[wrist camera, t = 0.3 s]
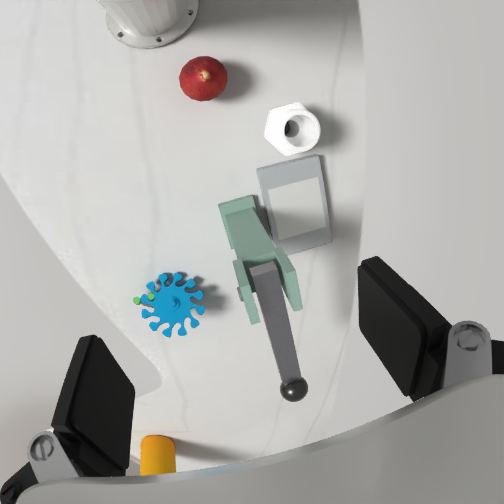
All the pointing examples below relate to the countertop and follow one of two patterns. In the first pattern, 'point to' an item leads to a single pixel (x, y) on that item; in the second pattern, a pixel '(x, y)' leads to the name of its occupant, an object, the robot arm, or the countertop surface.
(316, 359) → the countertop surface
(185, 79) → the onion
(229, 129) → the countertop surface
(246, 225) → the press
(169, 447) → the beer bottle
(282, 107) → the pipe fitting
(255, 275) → the lever
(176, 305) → the gear
